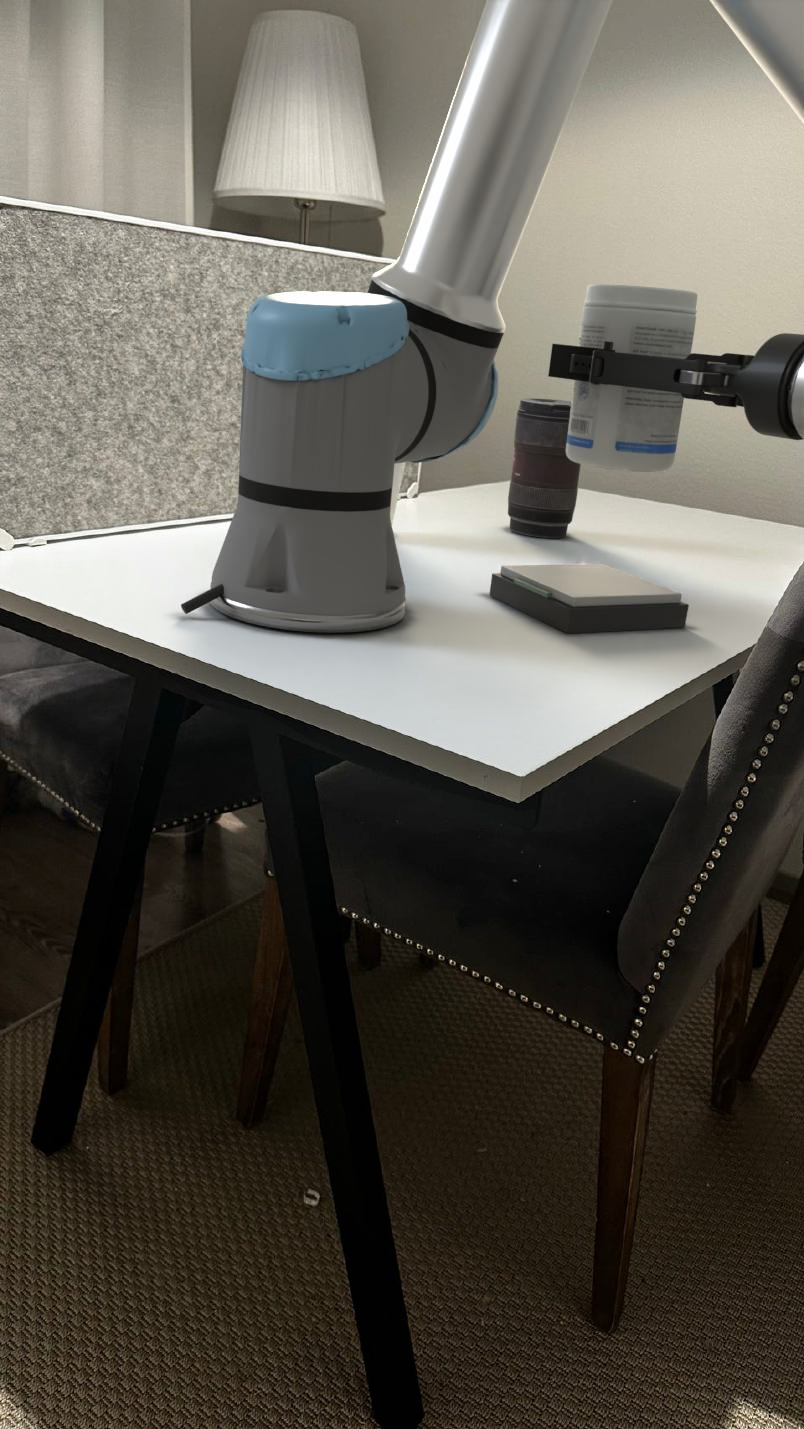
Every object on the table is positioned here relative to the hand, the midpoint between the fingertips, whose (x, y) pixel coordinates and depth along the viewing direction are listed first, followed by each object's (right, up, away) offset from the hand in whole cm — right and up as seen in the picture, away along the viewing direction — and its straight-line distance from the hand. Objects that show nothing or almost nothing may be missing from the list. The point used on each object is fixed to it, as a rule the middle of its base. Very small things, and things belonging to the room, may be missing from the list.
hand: (594, 363), depth 97 cm
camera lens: (-1, -10, +31) cm, 33 cm away
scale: (-1, -22, -4) cm, 23 cm away
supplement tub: (+2, -9, 0) cm, 10 cm away
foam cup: (-22, -12, +21) cm, 32 cm away
